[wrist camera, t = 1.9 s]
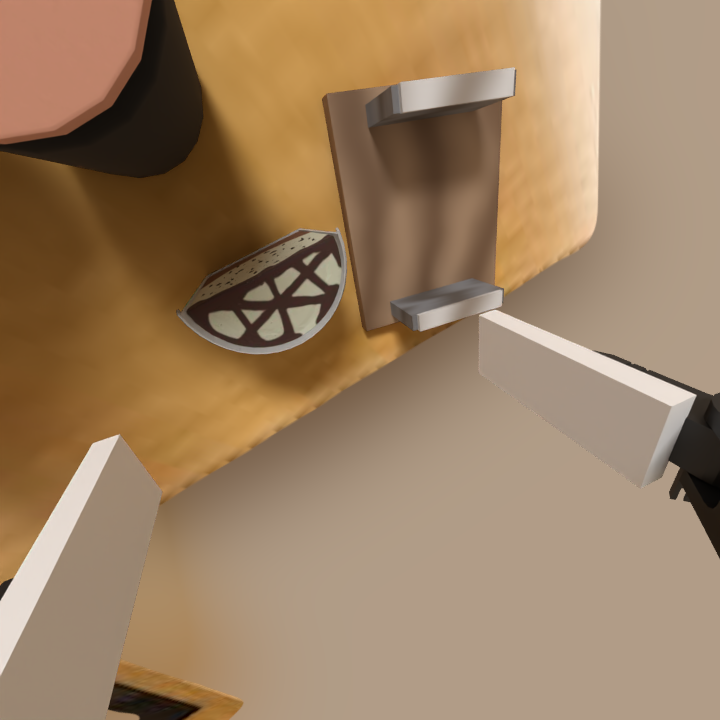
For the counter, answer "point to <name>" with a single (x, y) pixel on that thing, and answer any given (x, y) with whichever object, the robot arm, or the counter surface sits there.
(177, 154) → the coffee jar
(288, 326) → the food container
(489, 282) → the holder
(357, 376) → the counter surface
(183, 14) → the counter surface
